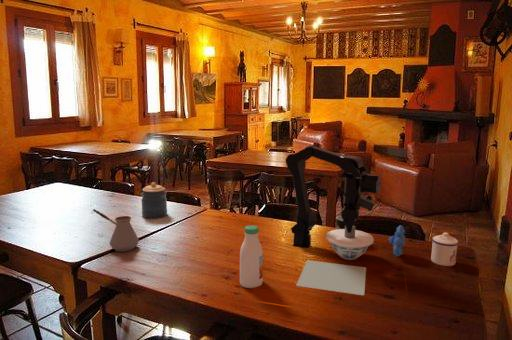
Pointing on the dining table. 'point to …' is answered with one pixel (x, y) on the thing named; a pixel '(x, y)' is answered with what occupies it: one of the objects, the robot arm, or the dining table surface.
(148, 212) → the canister
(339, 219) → the coffee mug
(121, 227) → the coffee pot
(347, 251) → the chinaware
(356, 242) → the lid
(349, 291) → the mat
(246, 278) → the milk bottle
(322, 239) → the dining table surface
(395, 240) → the blue lumpy piece
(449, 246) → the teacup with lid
